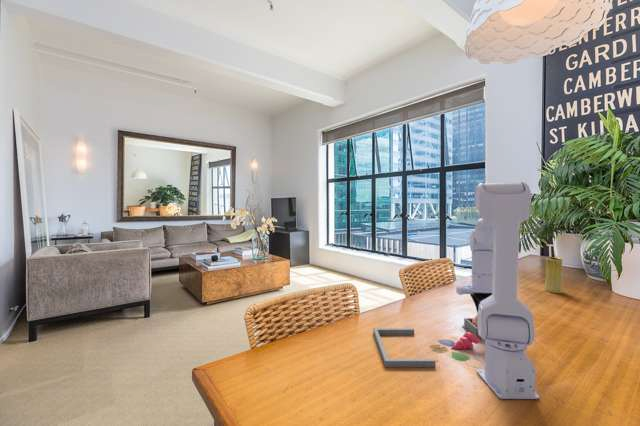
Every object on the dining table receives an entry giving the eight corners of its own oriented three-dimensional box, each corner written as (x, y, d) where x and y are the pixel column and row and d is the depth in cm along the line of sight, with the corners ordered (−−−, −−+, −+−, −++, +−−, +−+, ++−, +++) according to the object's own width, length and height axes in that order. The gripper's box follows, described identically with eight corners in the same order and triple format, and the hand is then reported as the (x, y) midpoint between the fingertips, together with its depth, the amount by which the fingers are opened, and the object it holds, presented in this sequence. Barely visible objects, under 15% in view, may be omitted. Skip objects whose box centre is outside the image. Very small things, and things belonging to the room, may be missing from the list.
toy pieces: (451, 336, 86) (451, 321, 86) (487, 353, 76) (487, 337, 76) (421, 345, 81) (421, 330, 80) (455, 365, 71) (456, 348, 70)
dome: (495, 331, 84) (495, 321, 84) (477, 331, 85) (477, 321, 84) (486, 324, 90) (486, 314, 90) (469, 324, 90) (469, 314, 90)
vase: (541, 290, 126) (542, 257, 126) (549, 288, 129) (550, 256, 128) (557, 294, 121) (558, 260, 120) (565, 292, 123) (566, 258, 123)
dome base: (503, 339, 83) (503, 328, 83) (475, 339, 83) (475, 328, 83) (488, 326, 91) (488, 317, 91) (462, 327, 91) (462, 317, 91)
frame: (435, 367, 70) (435, 360, 70) (385, 367, 70) (385, 361, 70) (413, 332, 88) (413, 328, 88) (373, 333, 88) (373, 328, 88)
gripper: (499, 269, 90) (498, 312, 91) (452, 269, 91) (451, 312, 91) (513, 275, 83) (513, 321, 84) (462, 275, 84) (462, 321, 84)
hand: (482, 317), depth 87 cm, fingers closed, pressing on dome
